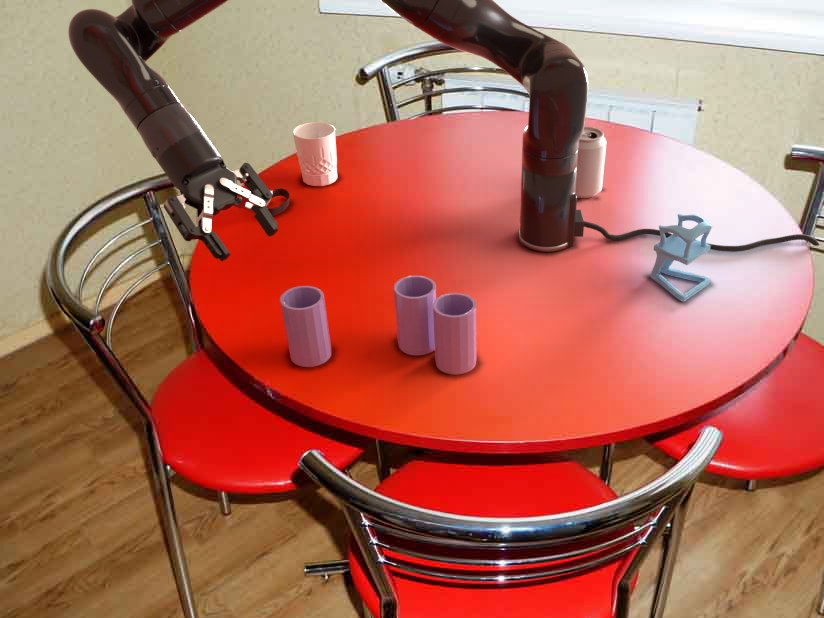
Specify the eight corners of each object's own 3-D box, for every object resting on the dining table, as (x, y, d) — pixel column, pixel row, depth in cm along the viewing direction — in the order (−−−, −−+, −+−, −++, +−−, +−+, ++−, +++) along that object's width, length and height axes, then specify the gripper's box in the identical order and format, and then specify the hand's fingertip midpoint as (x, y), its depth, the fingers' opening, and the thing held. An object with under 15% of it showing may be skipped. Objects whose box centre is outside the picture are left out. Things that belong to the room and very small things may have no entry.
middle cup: (438, 331, 129) (435, 274, 122) (438, 354, 124) (435, 297, 118) (398, 332, 128) (394, 275, 122) (397, 356, 124) (393, 298, 118)
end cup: (333, 342, 126) (325, 285, 120) (329, 366, 122) (321, 309, 115) (293, 343, 126) (283, 286, 120) (287, 367, 121) (277, 310, 115)
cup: (475, 348, 125) (475, 292, 119) (477, 374, 121) (476, 316, 115) (435, 350, 125) (432, 293, 119) (435, 375, 120) (432, 317, 114)
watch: (276, 197, 161) (273, 179, 159) (297, 202, 160) (294, 184, 158) (252, 215, 156) (249, 197, 153) (274, 220, 154) (271, 202, 152)
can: (603, 200, 162) (609, 140, 154) (563, 199, 162) (567, 140, 154) (600, 182, 168) (605, 124, 160) (562, 181, 168) (566, 123, 160)
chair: (668, 264, 144) (678, 200, 137) (710, 283, 140) (723, 218, 132) (641, 282, 140) (650, 217, 132) (683, 302, 135) (695, 236, 128)
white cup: (306, 191, 163) (299, 141, 157) (294, 174, 169) (287, 126, 162) (346, 183, 166) (340, 134, 160) (332, 167, 172) (327, 119, 165)
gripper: (142, 150, 109) (218, 256, 111) (230, 116, 118) (299, 214, 120) (128, 177, 115) (200, 277, 117) (213, 142, 124) (279, 236, 126)
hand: (250, 245), depth 119 cm, fingers open, 8 cm apart
